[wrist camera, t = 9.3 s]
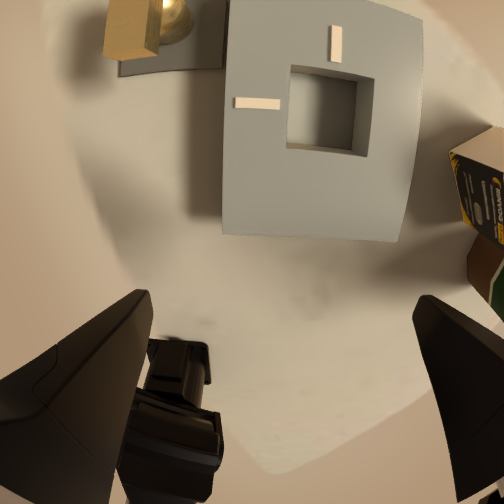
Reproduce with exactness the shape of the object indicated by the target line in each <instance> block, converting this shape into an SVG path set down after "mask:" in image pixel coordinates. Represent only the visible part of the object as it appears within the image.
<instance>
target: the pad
mask: <svg viewBox="0 0 504 504" xmlns="http://www.w3.org/2000/svg"><path fill="white" fill-rule="evenodd" d="M185 2H186V3H187V5H188V6H189V8H190V10H191V11H192V13H193V15H194V17H195V24H194V28H193V30H192V31H191V33H190V34H189V35H188V36H187V37H186V38H185V39H183V40H182V41H180V42H178V43H175V44H170V45H163V44H159V53H158V56H151V57H143V58H136V59H130V60H124V61H121V77H125V76H132V75H138V74H146V73H154V72H164V71H175V70H190V69H223V50H224V34H225V19H226V5H227V0H185Z"/></svg>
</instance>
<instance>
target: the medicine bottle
mask: <svg viewBox="0 0 504 504" xmlns="http://www.w3.org/2000/svg"><path fill="white" fill-rule="evenodd" d="M449 157H450V161H451V165H452V169H453V172H454V177H455V181H456V185H457V190H458V194H459V199H460V204H461V210H462V215H463V220H464V222H465V223H466V224H468V225H469V226H471V227H472V228H473V229H475V230H476V231H477V232H479V233H480V234H481V235H483V236H484V237H485V238H486V239H488V240H489V241H490V242H492V243H493V244H494V245H495V246H497V247H498V248H499V249H500V250H501V251H503V252H504V128H501V127H497V126H494V127H492V128H490V129H488V130H486V131H485V132H483V133H481V134H479V135H477V136H475V137H474V138H472V139H470V140H468V141H466V142H465V143H463V144H461V145H459V146H457V147H455V148H454V149H452V150H450V151H449Z"/></svg>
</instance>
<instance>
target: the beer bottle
mask: <svg viewBox="0 0 504 504" xmlns="http://www.w3.org/2000/svg"><path fill="white" fill-rule="evenodd" d="M467 277H468V281H469V282H470V283H471V284H472V286H473V287H474V288H475V289H476V291H477V292H478V293H479V294H480V295H481V296H482V297H483V298H484V300H485V301H486V302H487V303H488V304H489V305H490V306H491V308H492V309H493V310H494V311H495V312H496V314H497V315H498V316H499V317H500V318H501V320H502V321H503V322H504V252H503V251H501V250H500V249H499V248H498V247H497V246H495V245H494V244H493V243H492V242H490V241H489V240H488V239H486V238H485V237H484V236H483V235H481V234H479V236H478V238H477V240H476V242H475V243H474V245H473V247H472V249H471V251H470V253H469V255H468V256H467Z"/></svg>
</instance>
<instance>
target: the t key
mask: <svg viewBox="0 0 504 504" xmlns="http://www.w3.org/2000/svg"><path fill="white" fill-rule="evenodd" d="M194 24H195V17H194V15H193V13H192V11H191V10H190V8H189V6H188V5H187V3H186V2H185V0H110V1H109V7H108V13H107V20H106V28H105V36H104V46H103V56H105V57H108V58H112V59H115V60H119V61H124V60H130V59H136V58H143V57H151V56H158V53H159V44H163V45H170V44H175V43H178V42H180V41H182V40H183V39H185V38H186V37H187V36H188V35H189V34H190V33H191V31H192V30H193V28H194Z"/></svg>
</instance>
